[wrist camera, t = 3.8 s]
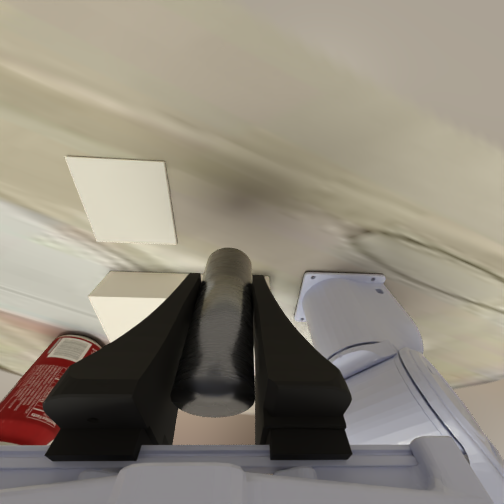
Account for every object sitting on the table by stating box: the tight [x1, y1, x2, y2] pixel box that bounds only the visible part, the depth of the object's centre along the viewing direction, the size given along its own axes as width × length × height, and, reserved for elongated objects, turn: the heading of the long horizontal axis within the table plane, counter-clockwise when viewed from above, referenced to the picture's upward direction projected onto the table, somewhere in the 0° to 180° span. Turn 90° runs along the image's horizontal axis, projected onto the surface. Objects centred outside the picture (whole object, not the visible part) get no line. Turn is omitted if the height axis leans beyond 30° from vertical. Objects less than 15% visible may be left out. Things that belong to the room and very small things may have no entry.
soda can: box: [0, 335, 102, 445], centre depth 26 cm, size 7×7×12 cm
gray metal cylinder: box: [170, 248, 255, 417], centre depth 11 cm, size 3×3×8 cm
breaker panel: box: [88, 271, 271, 376], centre depth 26 cm, size 18×14×5 cm
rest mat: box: [65, 156, 177, 245], centre depth 20 cm, size 8×8×1 cm
